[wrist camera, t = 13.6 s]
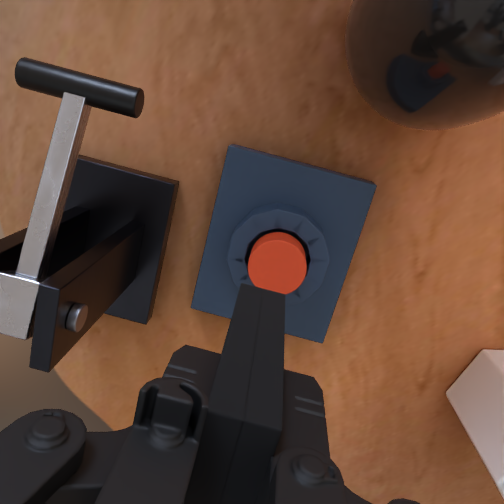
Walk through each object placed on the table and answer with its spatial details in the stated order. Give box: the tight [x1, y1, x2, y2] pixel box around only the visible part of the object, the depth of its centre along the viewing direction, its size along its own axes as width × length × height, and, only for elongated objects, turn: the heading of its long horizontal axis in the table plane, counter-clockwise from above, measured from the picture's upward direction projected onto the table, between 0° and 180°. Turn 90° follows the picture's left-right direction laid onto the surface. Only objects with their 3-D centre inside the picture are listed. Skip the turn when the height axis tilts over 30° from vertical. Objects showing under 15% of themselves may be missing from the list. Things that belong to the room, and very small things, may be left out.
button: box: [248, 232, 307, 294], centre depth 29 cm, size 4×4×2 cm
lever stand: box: [0, 155, 179, 372], centre depth 27 cm, size 11×8×14 cm
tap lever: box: [0, 57, 144, 340], centre depth 22 cm, size 13×6×2 cm, turn 165°
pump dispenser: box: [345, 0, 504, 131], centre depth 21 cm, size 10×10×15 cm
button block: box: [191, 144, 377, 343], centre depth 31 cm, size 12×10×4 cm
